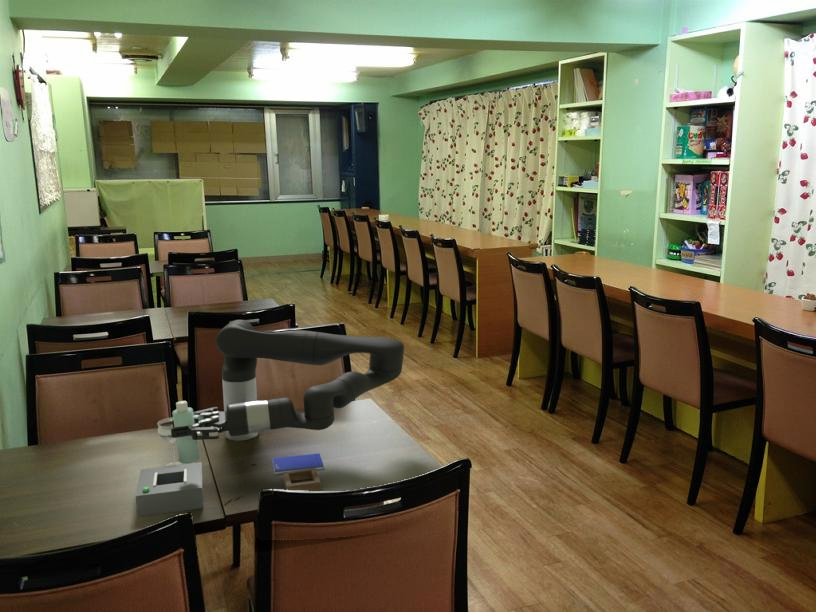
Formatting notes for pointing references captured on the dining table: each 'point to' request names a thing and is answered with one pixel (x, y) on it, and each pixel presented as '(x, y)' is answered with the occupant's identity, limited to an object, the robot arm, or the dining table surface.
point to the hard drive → (297, 463)
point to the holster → (300, 475)
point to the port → (170, 489)
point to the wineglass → (167, 436)
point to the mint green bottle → (186, 443)
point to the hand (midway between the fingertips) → (172, 428)
